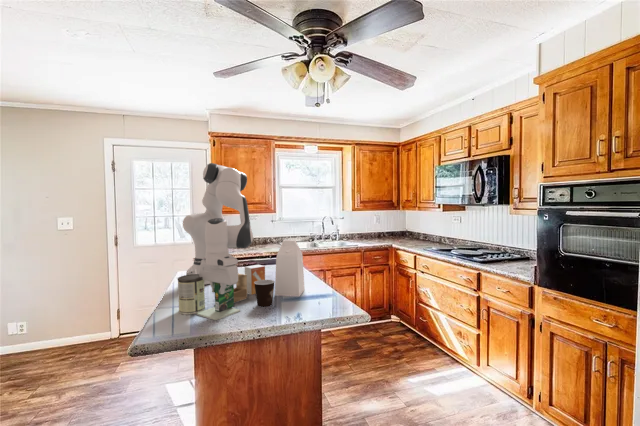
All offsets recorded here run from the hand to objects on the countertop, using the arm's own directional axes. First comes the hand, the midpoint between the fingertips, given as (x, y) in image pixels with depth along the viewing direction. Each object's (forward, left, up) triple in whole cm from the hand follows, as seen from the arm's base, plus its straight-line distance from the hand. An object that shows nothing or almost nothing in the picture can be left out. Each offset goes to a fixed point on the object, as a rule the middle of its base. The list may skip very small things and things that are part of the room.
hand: (218, 293), depth 128 cm
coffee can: (-12, -4, -8) cm, 15 cm away
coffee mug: (+9, +19, -8) cm, 23 cm away
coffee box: (0, +3, -8) cm, 8 cm away
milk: (+6, +38, -8) cm, 39 cm away
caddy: (-8, +14, -8) cm, 18 cm away
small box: (-9, +29, -8) cm, 32 cm away
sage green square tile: (0, 0, -8) cm, 8 cm away
